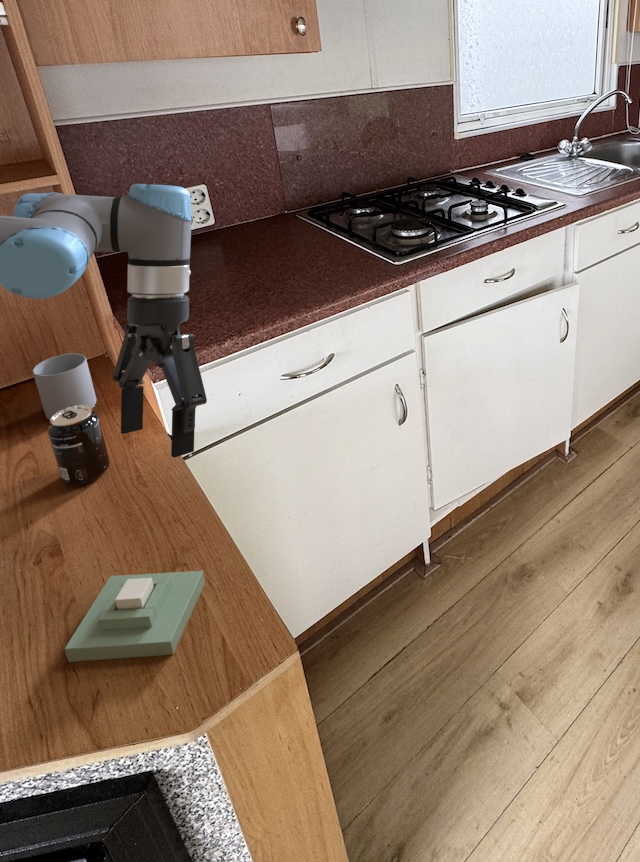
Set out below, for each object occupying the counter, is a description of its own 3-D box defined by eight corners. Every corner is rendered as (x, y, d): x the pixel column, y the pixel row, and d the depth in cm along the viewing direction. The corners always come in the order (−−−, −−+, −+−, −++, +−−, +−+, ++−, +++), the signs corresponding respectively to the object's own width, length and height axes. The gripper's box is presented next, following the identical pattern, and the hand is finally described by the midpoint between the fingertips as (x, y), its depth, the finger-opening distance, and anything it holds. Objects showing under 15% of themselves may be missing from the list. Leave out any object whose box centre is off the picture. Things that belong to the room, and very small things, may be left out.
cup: (104, 394, 120) (93, 352, 117) (84, 418, 113) (72, 373, 109) (59, 397, 119) (47, 355, 116) (36, 422, 111) (22, 377, 108)
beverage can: (95, 456, 102) (80, 398, 98) (120, 468, 100) (105, 409, 96) (53, 480, 97) (35, 420, 93) (78, 494, 94) (61, 432, 90)
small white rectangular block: (117, 610, 71) (114, 600, 71) (130, 589, 74) (127, 578, 73) (143, 609, 71) (140, 598, 71) (154, 587, 74) (152, 577, 74)
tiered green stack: (68, 662, 69) (60, 638, 67) (113, 587, 78) (107, 565, 77) (173, 654, 70) (167, 631, 68) (205, 582, 79) (201, 560, 78)
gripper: (237, 302, 78) (233, 455, 79) (141, 284, 91) (138, 416, 92) (182, 307, 72) (178, 474, 73) (87, 287, 85) (85, 429, 86)
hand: (156, 442), depth 83 cm, fingers open, 13 cm apart
